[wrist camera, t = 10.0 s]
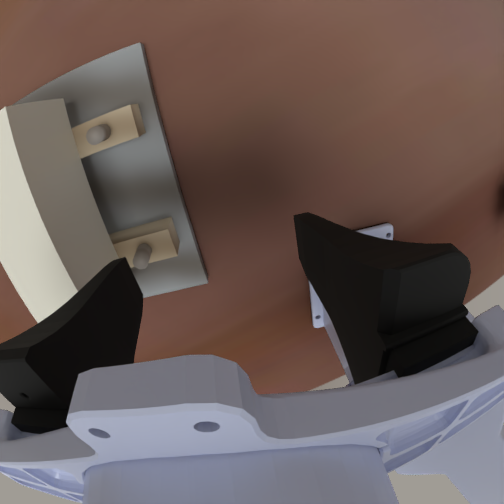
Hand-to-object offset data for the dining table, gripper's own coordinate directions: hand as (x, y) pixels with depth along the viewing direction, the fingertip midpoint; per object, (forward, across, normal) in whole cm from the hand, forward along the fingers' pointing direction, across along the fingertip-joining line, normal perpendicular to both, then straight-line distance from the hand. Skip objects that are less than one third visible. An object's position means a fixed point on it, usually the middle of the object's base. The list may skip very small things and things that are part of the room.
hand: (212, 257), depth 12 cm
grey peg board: (+9, +9, -2) cm, 13 cm away
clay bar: (+6, +9, -2) cm, 11 cm away
